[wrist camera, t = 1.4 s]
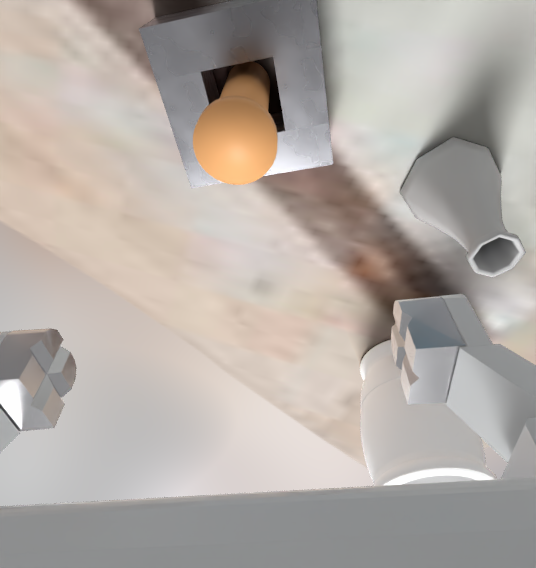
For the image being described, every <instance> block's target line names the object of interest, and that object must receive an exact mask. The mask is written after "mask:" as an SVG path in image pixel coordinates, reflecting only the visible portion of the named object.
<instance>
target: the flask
mask: <svg viewBox="0 0 536 568" xmlns="http://www.w3.org/2000/svg"><path fill="white" fill-rule="evenodd" d="M501 185H502V180H501V175H500V172H499V170H498V168H497V166H496V164H495V162H494V160H493V157H492V155H491V153H490V151H489V149H488V147H484V146H481V145H478V144H475V143H471V142H468V141H465V140H462V139H458V138H455V137H452V138H451V139H449V140H447V141H446V142H444V143H443V144H441V145H439V146H438V147H436V148H434V149H433V150H431V151H430V152H428V153H426V154H425V155H423V156H421V157H420V158H418V159H417V160H416V162H415V164H414V166H413V168H412V170H411V171H410V173H409V175H408V177H407V179H406V181H405V183H404V185H403V187H402V189H401V191H400V194H401V195H402V197H403V198H404V200H405V202H406V203H407V205H408V206H409V208H410V210H411V211H412V213H413V214H414V216H415V217H416V218H417V219H419V220H421V221H423V222H425V223H427V224H429V225H431V226H433V227H435V228H437V229H438V230H440V231H442V232H443V233H445V234H447V235H449V236H450V237H452V238H454V239H455V240H457V241H458V242H459V243H460V244H461V245H462V246H463V247H464V248H465V249H466V250H467V251H468V253H467V254H466V258H467V260H468V262H469V264H470V265H471V267H472V269H473V270H474V272H475V273H477V274H481V275H485V276H489V277H495V276H497V275H499V274H501V273H504V272H506V271H508V270H510V269H512V268H514V266H515V265H516V264H517V263H518V261H519V260H520V259H521V258H522V256H523V255H524V254H525V253H526V251H525V249H524V247H523V245H522V243H521V241H520V239H519V237H518V236H517V235H515V234H512V233H508V231H507V230H506V229H505V227H504V224H503V221H502V209H501Z"/></svg>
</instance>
